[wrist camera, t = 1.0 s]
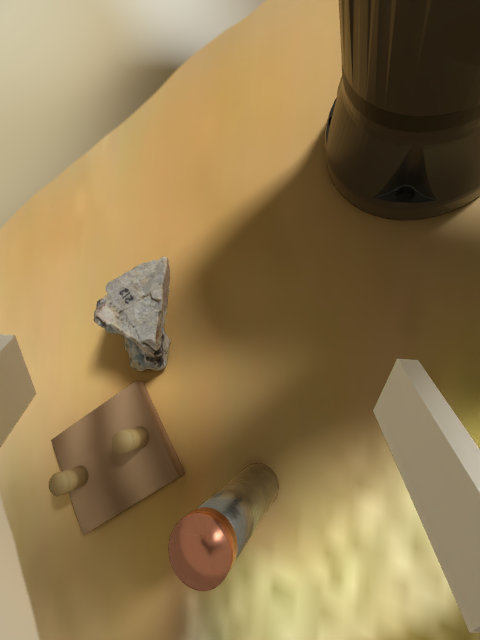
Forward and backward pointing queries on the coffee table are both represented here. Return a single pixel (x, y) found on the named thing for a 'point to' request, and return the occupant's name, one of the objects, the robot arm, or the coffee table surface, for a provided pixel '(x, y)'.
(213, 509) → the pin
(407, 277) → the coffee table surface
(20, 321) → the coffee table surface
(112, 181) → the coffee table surface
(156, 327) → the mineral specimen
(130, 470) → the peg rack
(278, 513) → the coffee table surface
